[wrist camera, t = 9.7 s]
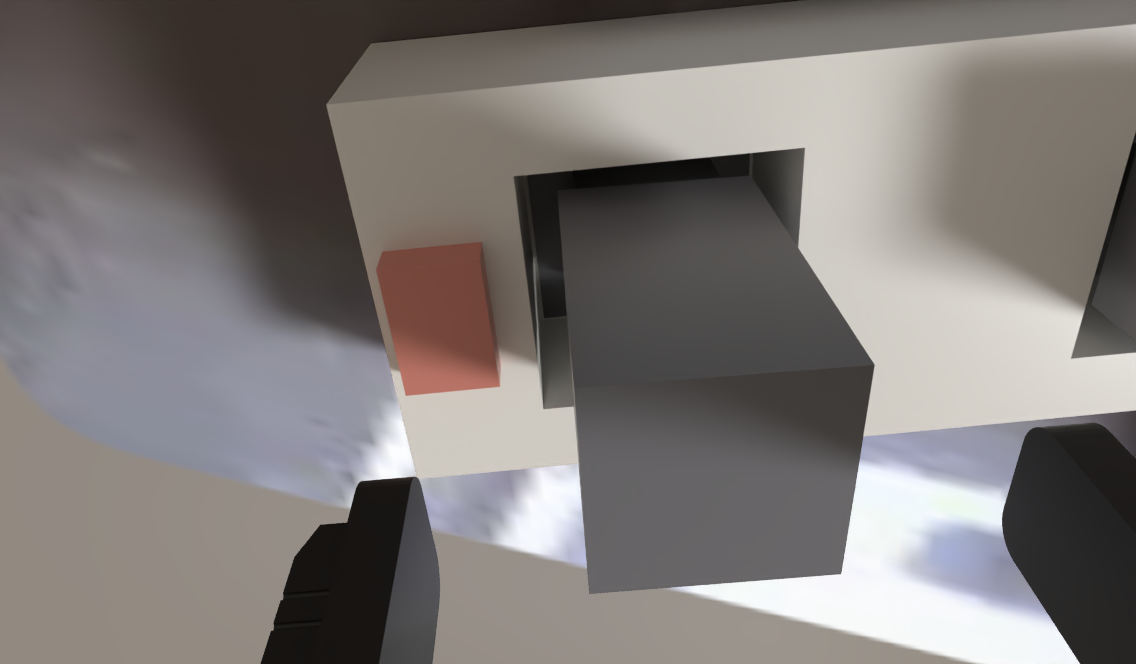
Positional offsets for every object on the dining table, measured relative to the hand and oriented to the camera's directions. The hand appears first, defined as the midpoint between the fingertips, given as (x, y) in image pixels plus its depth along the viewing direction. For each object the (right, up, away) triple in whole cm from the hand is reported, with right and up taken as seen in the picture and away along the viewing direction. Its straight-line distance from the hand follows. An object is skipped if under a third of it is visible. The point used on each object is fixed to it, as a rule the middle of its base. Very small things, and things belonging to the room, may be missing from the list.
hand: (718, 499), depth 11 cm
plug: (0, +5, +9) cm, 11 cm away
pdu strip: (+6, +6, +10) cm, 13 cm away
